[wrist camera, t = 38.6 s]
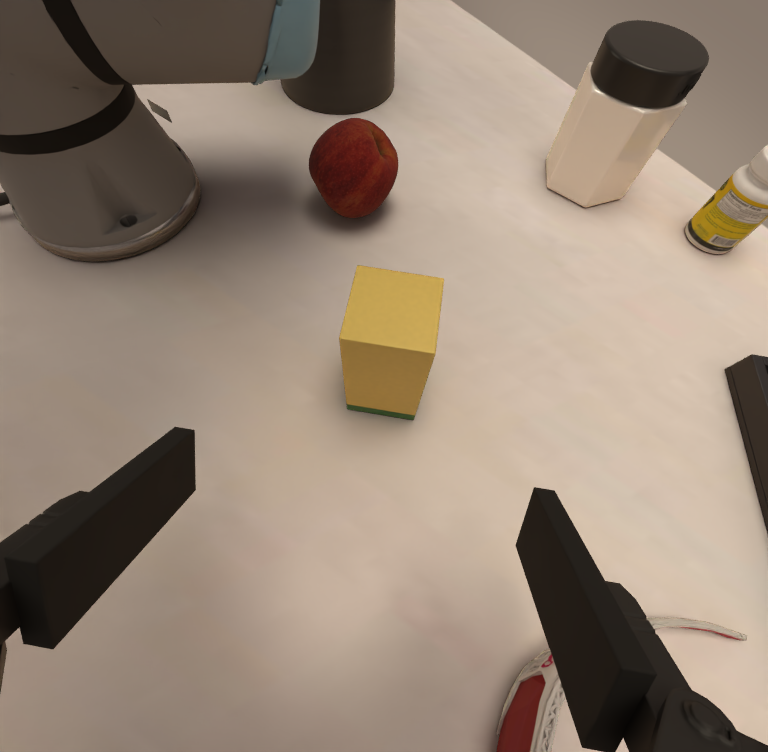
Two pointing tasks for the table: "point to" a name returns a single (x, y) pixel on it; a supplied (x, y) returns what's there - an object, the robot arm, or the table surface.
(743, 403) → the pan
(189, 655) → the table surface
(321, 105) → the vase
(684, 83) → the jar
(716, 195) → the supplement bottle
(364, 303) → the sponge
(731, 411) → the table surface
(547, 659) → the sunglasses
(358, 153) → the apple
